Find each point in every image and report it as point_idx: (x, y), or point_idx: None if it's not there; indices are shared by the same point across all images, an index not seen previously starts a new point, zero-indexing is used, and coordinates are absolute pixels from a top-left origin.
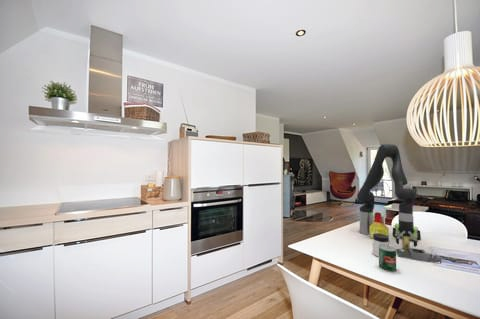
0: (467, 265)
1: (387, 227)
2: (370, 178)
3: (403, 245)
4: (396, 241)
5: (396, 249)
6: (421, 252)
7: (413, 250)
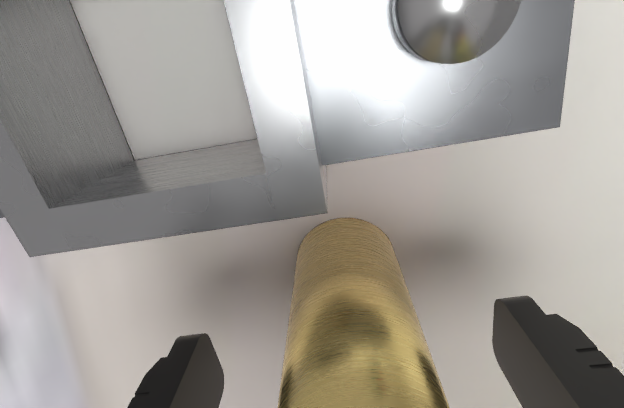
0: None
1: None
2: None
3: (404, 301)
4: (597, 352)
5: (553, 104)
6: (94, 184)
7: (221, 170)
